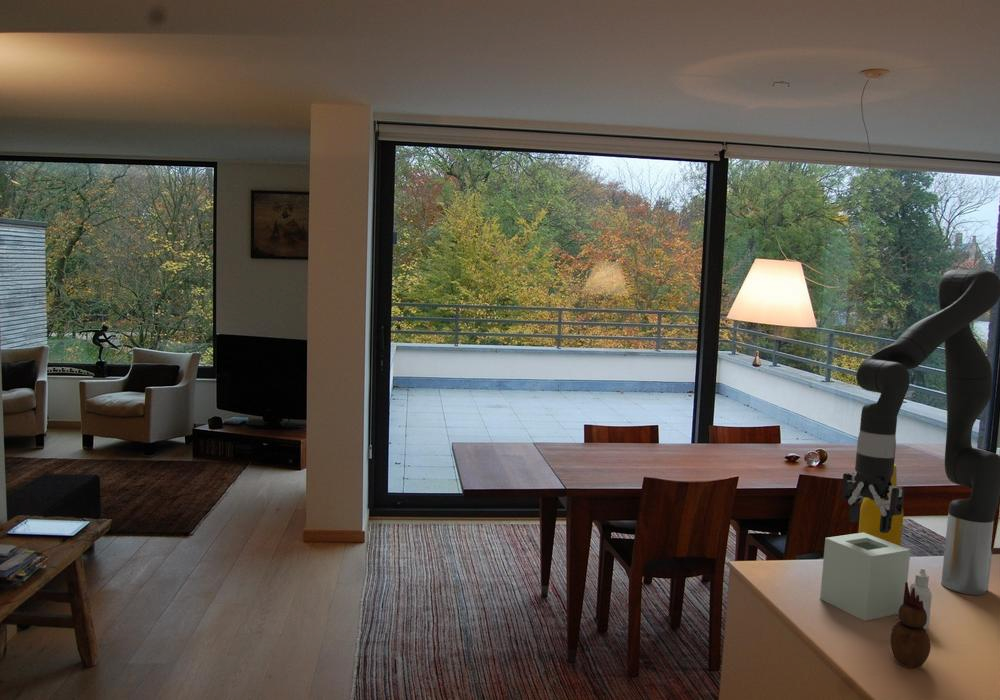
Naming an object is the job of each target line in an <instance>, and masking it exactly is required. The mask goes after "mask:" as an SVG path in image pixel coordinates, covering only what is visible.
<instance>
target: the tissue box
mask: <svg viewBox="0 0 1000 700" xmlns="http://www.w3.org/2000/svg"><path fill="white" fill-rule="evenodd" d="M824 540H825V541H824V550H823V562H822V574H821V583H820V585H821V586H820V594H819V596H820V597H819V599H820V600H822V601H824V602H826V603H827V604H830V605H832V606H834V607H836V608H838V609H840V610H842V611H845V612H847V613H848V614H850V615H853V616H855V617H856V616H857V618H858V617H859V618H858V619H860V618H861V620H863V621H865V622H867V621H871V620H876V619H880V618H886V617H889V616H895V615H898V613H899V608H900V606H901V605H902V604H903V599H904V590H905V583H906V582H907V583H908V579H909V571H910V570H909V569H910V559H911V549H909V548H907V547H904V546H901V545H900V546H899V545H896V544H893V543H891V542H888V541H885V540H883V539H880V538H877V537H875V536H872V535H869V534H866V533H864V532H863V533H858V532H857V533H849V534H844V535H837V536H830V537H829V536H828V537H825V539H824Z"/></svg>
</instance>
